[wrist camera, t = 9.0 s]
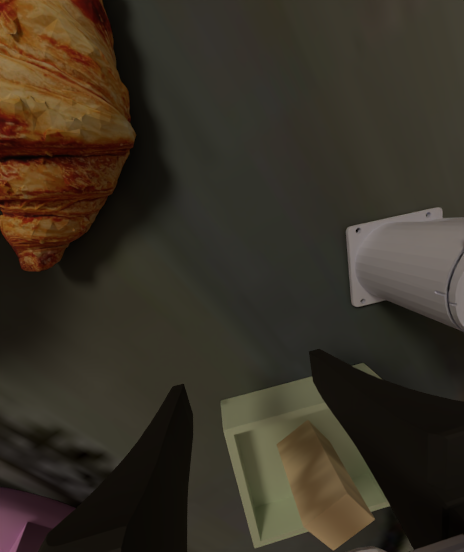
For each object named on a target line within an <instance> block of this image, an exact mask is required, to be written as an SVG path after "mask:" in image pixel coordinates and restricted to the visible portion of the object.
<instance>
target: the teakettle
mask: <svg viewBox="0 0 464 552" xmlns="http://www.w3.org/2000/svg"><path fill="white" fill-rule="evenodd" d="M75 509H76V508H74V507H72V506H70V505H67V504H65V503H62V502H59V501H56V500H53V499H50V498H46V497H43V496H39V495H35V494H32V493H28V492H24V491H20V490H15V489H10V488H5V487H0V552H38V550H39V548H40V547H41V545H42V543H43V541H44V539H45V537H46V535H47V534H48V532H50V531H51V530H52V529H53V528H54V527H55V526H57V525H58V524H59V523H60V522H61V521H62V520H63V519H64V518H66V517H67V516H68V515H69V514H70V513H71V512H72V511H73V510H75Z"/></svg>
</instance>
